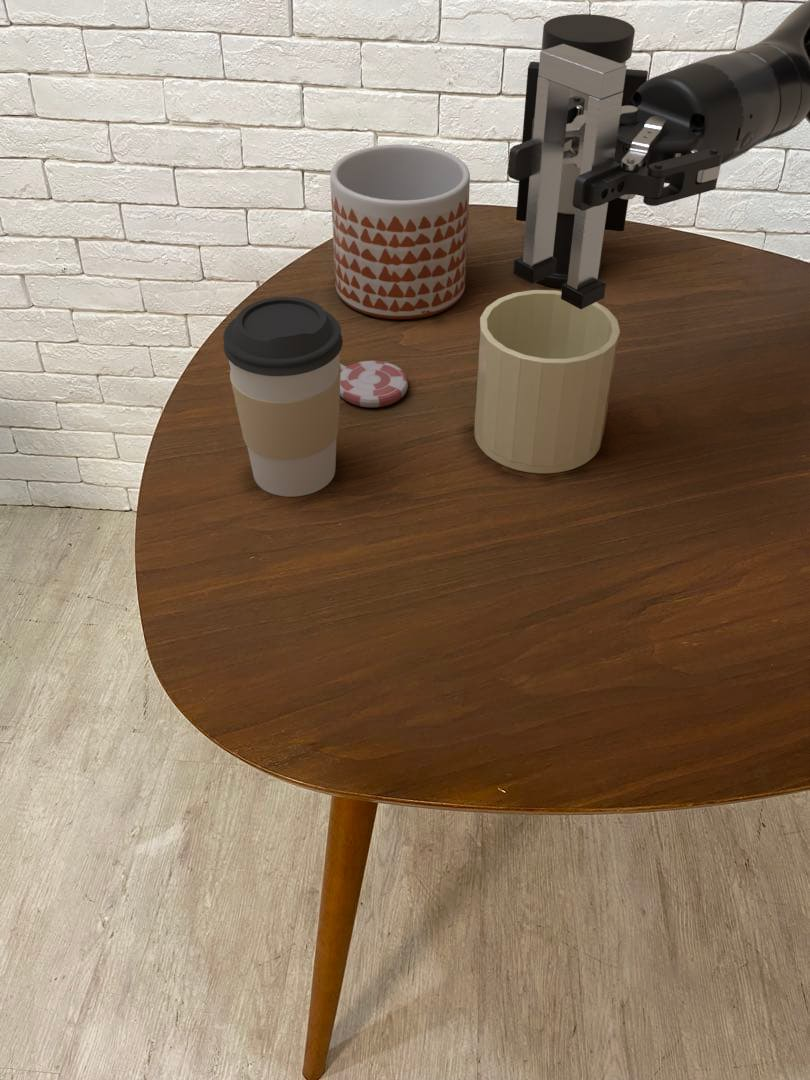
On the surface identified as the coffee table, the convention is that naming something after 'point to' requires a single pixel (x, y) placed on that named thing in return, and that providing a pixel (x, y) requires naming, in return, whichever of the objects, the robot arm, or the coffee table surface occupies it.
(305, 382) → the coffee cup
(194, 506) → the coffee table surface
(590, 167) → the tongs
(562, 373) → the crock
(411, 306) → the planter
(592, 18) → the light fixture
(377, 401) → the lollipop
